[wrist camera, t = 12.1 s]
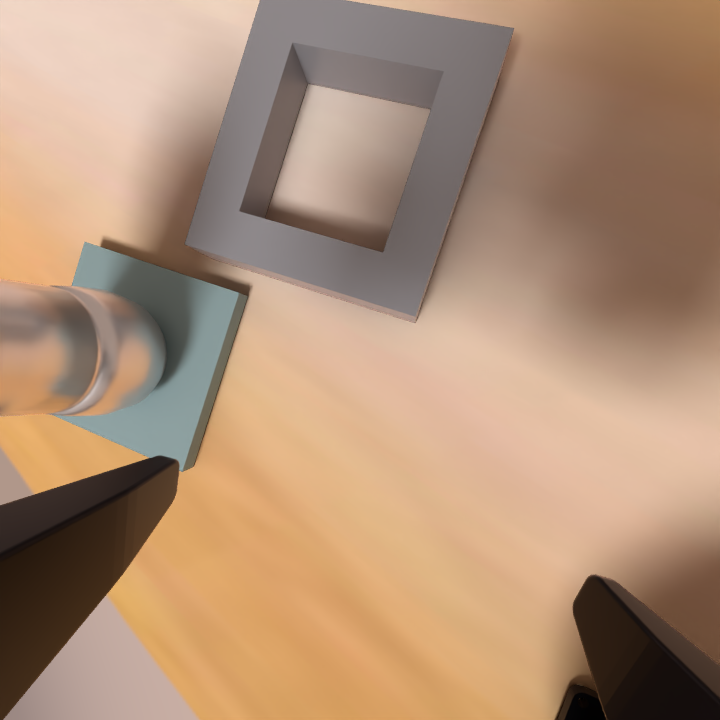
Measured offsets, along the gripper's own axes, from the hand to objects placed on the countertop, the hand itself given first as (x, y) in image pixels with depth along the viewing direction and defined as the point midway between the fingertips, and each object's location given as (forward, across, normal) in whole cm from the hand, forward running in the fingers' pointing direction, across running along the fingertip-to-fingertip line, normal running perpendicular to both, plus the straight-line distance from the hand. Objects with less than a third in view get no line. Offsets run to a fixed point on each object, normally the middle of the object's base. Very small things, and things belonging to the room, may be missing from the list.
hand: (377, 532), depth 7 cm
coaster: (+13, +15, +3) cm, 20 cm away
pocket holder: (+15, +5, -10) cm, 19 cm away
